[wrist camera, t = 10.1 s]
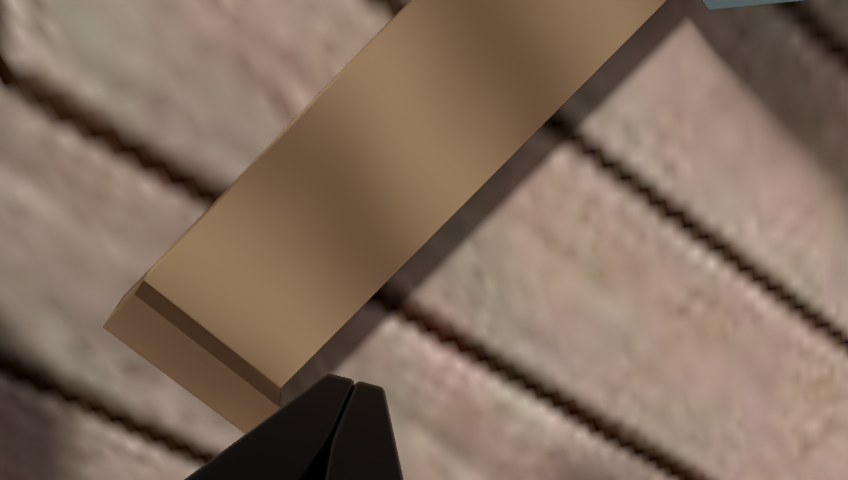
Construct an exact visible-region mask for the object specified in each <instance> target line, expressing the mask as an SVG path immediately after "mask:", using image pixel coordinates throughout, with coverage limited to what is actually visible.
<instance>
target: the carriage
mask: <svg viewBox="0 0 848 480" xmlns="http://www.w3.org/2000/svg"><path fill="white" fill-rule="evenodd" d="M702 1H703V2H704V4H705V5H706V6H707V8H708V9H709V10H712V9H722V8H732V7H742V6H752V5H762V4H772V3H782V2H792V1H802V0H702Z"/></svg>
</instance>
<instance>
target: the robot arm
mask: <svg viewBox="0 0 848 480" xmlns="http://www.w3.org/2000/svg"><path fill="white" fill-rule="evenodd" d="M185 480H403V475H402V470H401V466H400V461H399V456H398V452H397V447H396V442H395V438H394V433H393V428H392V423H391V419H390V414H389V409H388V405H387V400H386V395H385V391H384V389H383V388H382V387H380V386H376V385H372V384H368V383H364V382H357V383H356V384H354V381H353V380H352V379H349V378H345V377H341V376H337V375H333V374H327V375H325V376H324V377H322V378H321V379H320V380H318V381H317V382H316V383H314V384H313V385H312V386H310V387H309V388H308V389H306V390H305V391H303V392H302V393H301V394H299V395H298V396H297V397H295V398H294V399H293V400H291V401H290V402H289V403H287V404H286V405H285V406H283V407H282V408H281V409H279V410H278V411H277V412H275V413H274V414H272V415H271V416H270V417H268V418H267V419H266V420H264V421H263V422H262V423H260V424H259V425H258V426H256V427H255V428H254V429H252V430H251V431H249V432H248V433H247V434H245V435H244V436H243V437H241V438H240V439H239V440H237V441H236V442H235V443H233V444H232V445H231V446H229V447H228V448H227V449H225V450H224V451H222V452H221V453H220V454H218V455H217V456H216V457H214V458H213V459H212V460H210V461H209V462H208V463H206V464H205V465H204V466H202V467H201V468H200V469H198V470H197V471H195V472H194V473H193V474H191V475H190V476H189V477H187V478H186V479H185Z"/></svg>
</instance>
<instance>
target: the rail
mask: <svg viewBox="0 0 848 480" xmlns="http://www.w3.org/2000/svg"><path fill="white" fill-rule="evenodd" d="M665 1H666V0H410V1H409V2H408V3H407V4H406V5H405V6H404V7H403V8H402V9H401V10H400V11H399V12H398V13H397V14H396V15H395V16H394V17H393V18H392V19H391V20H390V21H389V22H388V23H387V24H386V26H385V27H384V28H383V29H382V30H381V31H380V32H379V33H378V34H377V35H376V36H375V37H374V38H373V39H372V40H371V41H370V42H369V43H368V44H367V45H366V46H365V47H364V48H363V49H362V50H361V51H360V52H359V53H358V54H357V55H356V57H355V58H354V59H353V60H352V61H351V62H350V63H349V64H348V65H347V66H346V67H345V68H344V69H343V70H342V71H341V72H340V73H339V74H338V75H337V76H336V77H335V78H334V79H333V80H332V81H331V82H330V83H329V84H328V85H327V86H326V88H325V89H324V90H323V91H322V92H321V93H320V94H319V95H318V96H317V97H316V98H315V99H314V100H313V101H312V102H311V103H310V104H309V105H308V106H307V107H306V108H305V109H304V110H303V111H302V112H301V113H300V114H299V115H298V116H297V117H296V119H295V120H294V121H293V122H292V123H291V124H290V125H289V126H288V127H287V128H286V129H285V130H284V131H283V132H282V133H281V134H280V135H279V136H278V137H277V138H276V139H275V140H274V141H273V142H272V143H271V144H270V145H269V146H268V147H267V148H266V149H265V151H264V152H263V153H262V154H261V155H260V156H259V157H258V158H257V159H256V160H255V161H254V162H253V163H252V164H251V165H250V166H249V167H248V168H247V169H246V170H245V171H244V172H243V173H242V174H241V175H240V176H239V177H238V178H237V179H236V180H235V182H234V183H233V184H232V185H231V186H230V187H229V188H228V189H227V190H226V191H225V192H224V193H223V194H222V195H221V196H220V197H219V198H218V199H217V200H216V201H215V202H214V203H213V204H212V205H211V206H210V207H209V208H208V209H207V210H206V211H205V213H204V214H203V215H202V216H201V217H200V218H199V219H198V220H197V221H196V222H195V223H194V224H193V225H192V226H191V227H190V228H189V229H188V230H187V231H186V232H185V233H184V234H183V235H182V236H181V237H180V238H179V239H178V240H177V241H176V242H175V243H174V245H173V246H172V247H171V248H170V249H169V250H168V251H167V252H166V253H165V254H164V255H163V256H162V257H161V258H160V259H159V260H158V261H157V262H156V263H155V264H154V265H153V266H152V267H151V268H150V269H149V270H148V271H147V272H146V273H145V274H144V276H143V277H142V278H141V279H140V280H139V281H138V282H137V283H136V284H135V285H134V286H133V287H132V288H131V289H130V290H129V291H128V292H127V293H126V294H125V295H124V296H123V298H122V299H121V301H120V302H119V304H118V305H117V307H116V308H115V310H114V311H113V313H112V314H111V316H110V317H109V319H108V320H107V322H106V323H105V325H104V326H103V328H104V329H106V330H107V331H109V332H110V333H111V334H113V335H114V336H115V337H117V338H118V339H119V340H121V341H122V342H123V343H125V344H126V345H127V346H129V347H130V348H131V349H133V350H134V351H135V352H137V353H138V354H139V355H141V356H142V357H143V358H145V359H146V360H147V361H149V362H150V363H151V364H153V365H154V366H155V367H157V368H158V369H159V370H161V371H162V372H163V373H165V374H166V375H167V376H169V377H170V378H171V379H173V380H174V381H175V382H177V383H178V384H179V385H181V386H182V387H183V388H185V389H186V390H187V391H189V392H190V393H191V394H193V395H194V396H195V397H197V398H198V399H199V400H201V401H202V402H204V403H205V404H206V405H208V406H209V407H210V408H212V409H213V410H214V411H216V412H217V413H218V414H220V415H221V416H222V417H224V418H225V419H226V420H228V421H229V422H230V423H232V424H233V425H234V426H236V427H237V428H238V429H240V430H241V431H242V432H244V433H245V434H247V433H248V432H249V431H251V430H252V429H254V428H255V427H256V426H258V425H259V424H260V423H262V422H263V421H264V420H266V419H267V418H268V417H270V416H271V415H272V414H274V413H275V412H277V411H278V410H279V409H280V393H281V387H282V386H283V385H284V384H285V383H286V382H287V381H288V380H289V379H290V378H291V377H292V376H293V375H294V374H295V373H296V372H297V371H298V370H299V369H300V368H301V367H302V366H303V365H304V364H305V363H306V362H307V361H308V360H309V359H310V358H311V357H312V356H313V355H314V354H315V353H316V352H317V351H318V350H319V349H320V348H321V347H322V346H323V345H324V344H325V343H326V342H327V341H328V340H329V339H330V338H331V337H332V336H333V335H334V334H335V333H336V332H337V331H338V330H339V329H340V328H341V327H342V326H343V325H344V324H345V323H346V322H347V321H348V320H349V319H350V318H351V317H352V316H353V315H354V314H355V313H356V312H357V311H358V310H359V309H360V308H361V307H362V306H363V305H364V304H365V303H366V302H367V301H368V300H369V299H370V298H371V297H372V296H373V295H374V294H375V293H376V292H377V291H378V290H379V289H380V288H381V287H382V286H383V285H384V284H385V283H386V282H387V281H388V280H389V279H390V278H391V277H392V276H393V275H394V274H395V273H396V272H397V271H398V270H399V269H400V268H401V267H402V266H403V265H404V264H405V263H406V262H407V261H408V260H409V259H410V258H411V257H412V256H413V255H414V254H415V253H416V252H417V251H418V250H419V249H420V248H421V247H422V246H423V245H424V244H425V243H426V242H427V241H428V240H429V239H430V238H431V237H432V236H433V235H434V234H435V233H436V231H437V230H438V229H439V228H440V227H441V226H442V225H443V224H444V223H445V222H446V221H447V220H448V219H449V218H450V217H451V216H452V215H453V214H454V213H455V212H456V211H457V210H458V209H459V208H460V207H461V206H462V205H463V204H464V203H465V202H466V201H467V200H468V199H469V198H470V197H471V196H472V195H473V194H474V193H475V192H476V191H477V190H478V189H479V188H480V187H481V186H482V185H483V184H484V183H485V182H486V181H487V180H488V179H489V178H490V177H491V176H492V175H493V174H494V173H495V172H496V171H497V170H498V169H499V168H500V167H501V166H502V165H503V164H504V163H505V162H506V161H507V160H508V159H509V158H510V157H511V156H512V155H513V154H514V153H515V152H516V151H517V150H518V149H519V148H520V147H521V146H522V145H523V144H524V143H525V142H526V141H527V140H528V139H529V138H530V137H531V136H532V135H533V134H534V133H535V132H536V131H537V130H538V129H539V128H540V127H541V126H542V125H543V124H544V123H545V122H546V121H547V120H548V119H549V118H550V117H551V116H552V115H553V114H554V113H555V112H556V111H557V110H558V109H559V108H560V107H561V106H562V105H563V104H564V103H565V102H566V101H567V100H568V99H569V98H570V97H571V96H572V95H573V94H574V93H575V92H576V91H577V90H578V89H579V88H580V87H581V86H582V85H583V84H584V83H585V82H586V81H587V80H588V79H589V78H590V77H591V76H592V75H593V74H594V73H595V72H596V71H597V70H598V69H599V68H600V67H601V66H602V65H603V64H604V63H605V62H606V61H607V60H608V59H609V58H610V57H611V56H612V55H613V54H614V53H615V52H616V51H617V50H618V49H619V48H620V47H621V46H622V45H623V43H624V42H625V41H626V40H627V39H628V38H629V37H630V36H631V35H632V34H633V33H634V32H635V31H636V30H637V29H638V28H639V27H640V26H641V25H642V24H643V23H644V22H645V21H646V20H647V19H648V18H649V17H650V16H651V15H652V14H653V13H654V12H655V11H656V10H657V9H658V8H659V7H660V6H661V5H662V4H663V3H664V2H665Z"/></svg>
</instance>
